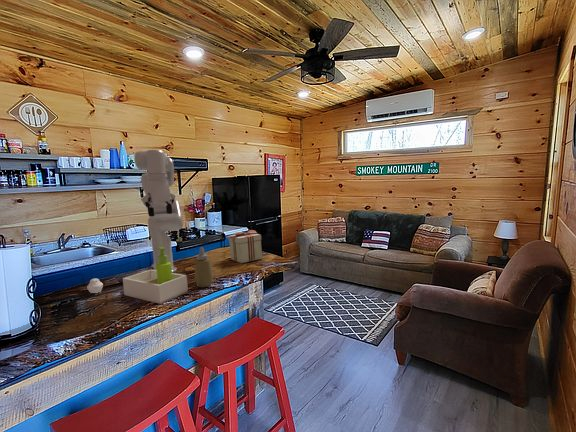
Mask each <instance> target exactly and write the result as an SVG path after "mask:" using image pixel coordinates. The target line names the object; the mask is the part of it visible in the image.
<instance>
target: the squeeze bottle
mask: <svg viewBox="0 0 576 432" xmlns="http://www.w3.org/2000/svg"><path fill="white" fill-rule="evenodd" d="M208 257H209V256H208V254H207V253H205V250H204V247H202V246H201V247H199V254H197V255H196V260H195V261H194V263H195V264H194V280H195V283H196V284H197V287H199V288H206V287H210V286H211V285H212V284H213V283H212V282H213V279H214V273H213V270H212V264H211V260H210V258H208Z"/></svg>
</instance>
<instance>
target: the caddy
mask: <svg viewBox="0 0 576 432" xmlns="http://www.w3.org/2000/svg"><path fill="white" fill-rule="evenodd" d="M187 276H188V275H186V274H183V273H175V272H172V280H170V281H168V282H165V283H162V284H160V285H159V284H158V280H157V271H156V270H154V269H148V270H145V271H142V272H139V273H135V274H132V275H128V276H126V277H123V278H122V285H123V293H124V296H127V297H132V298H136V299H140V300H143V301H147V302H150V303H151V302H152V303H156V304H160V305H161V304H163V303H166V302H168V301H171V300H172V299H173V300H174V299H175V298H177V297H180V296H182V295H184V294H186V293H188V292H189V288H188V277H187Z"/></svg>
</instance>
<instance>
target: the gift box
mask: <svg viewBox="0 0 576 432" xmlns="http://www.w3.org/2000/svg"><path fill="white" fill-rule="evenodd" d="M225 237H226V238H228V242H229V252H230V254H229V255H230V260H231V261H234V262H236V263H240V264H245V263H250V262H254V261H258V260H262V259H263V251H262V234H260V233H258V232H257V231H256V230H254V229H249V230H248V231H245V232H243V231H237V232H234V233H232V234H231V235H227V236H225Z"/></svg>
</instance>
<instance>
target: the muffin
mask: <svg viewBox="0 0 576 432" xmlns="http://www.w3.org/2000/svg"><path fill="white" fill-rule="evenodd" d="M103 287H104V284H103V282H101V281H100V279H99V278H92V279H90V280H89V283H88V284H87V286H86V288H87V290H88V291H89V293H90V294H91V293H98V292H100V293H101V292H102V290H103Z"/></svg>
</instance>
